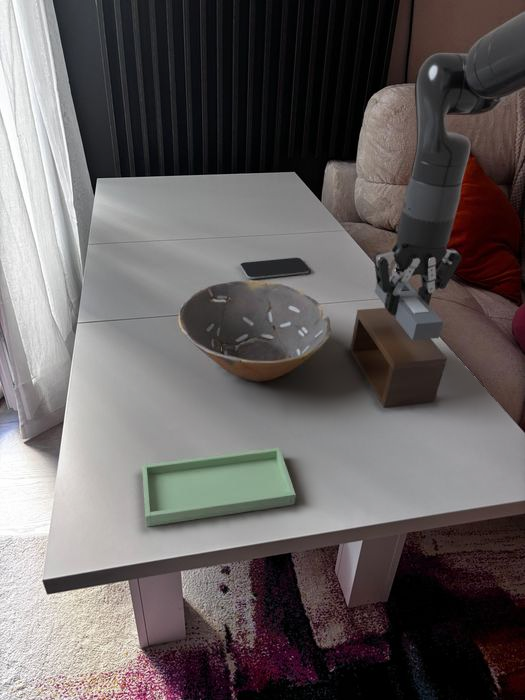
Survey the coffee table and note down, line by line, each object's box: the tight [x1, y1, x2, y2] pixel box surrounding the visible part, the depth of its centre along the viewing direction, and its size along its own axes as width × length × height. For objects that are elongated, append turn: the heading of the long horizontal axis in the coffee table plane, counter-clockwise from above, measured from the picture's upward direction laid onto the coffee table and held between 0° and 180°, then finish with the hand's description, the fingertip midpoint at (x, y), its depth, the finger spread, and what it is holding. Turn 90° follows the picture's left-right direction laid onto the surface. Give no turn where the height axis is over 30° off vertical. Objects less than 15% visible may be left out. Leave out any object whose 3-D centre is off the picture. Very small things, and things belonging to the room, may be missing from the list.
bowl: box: [178, 280, 332, 382], centre depth 95 cm, size 25×25×10 cm
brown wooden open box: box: [349, 307, 448, 408], centre depth 94 cm, size 16×9×9 cm, turn 13°
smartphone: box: [240, 257, 311, 280], centre depth 127 cm, size 7×1×15 cm
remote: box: [374, 275, 444, 340], centre depth 89 cm, size 15×4×3 cm, turn 13°
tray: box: [141, 447, 297, 527], centre depth 74 cm, size 19×9×2 cm, turn 103°
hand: (405, 310), depth 89 cm, fingers closed on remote, 4 cm apart
